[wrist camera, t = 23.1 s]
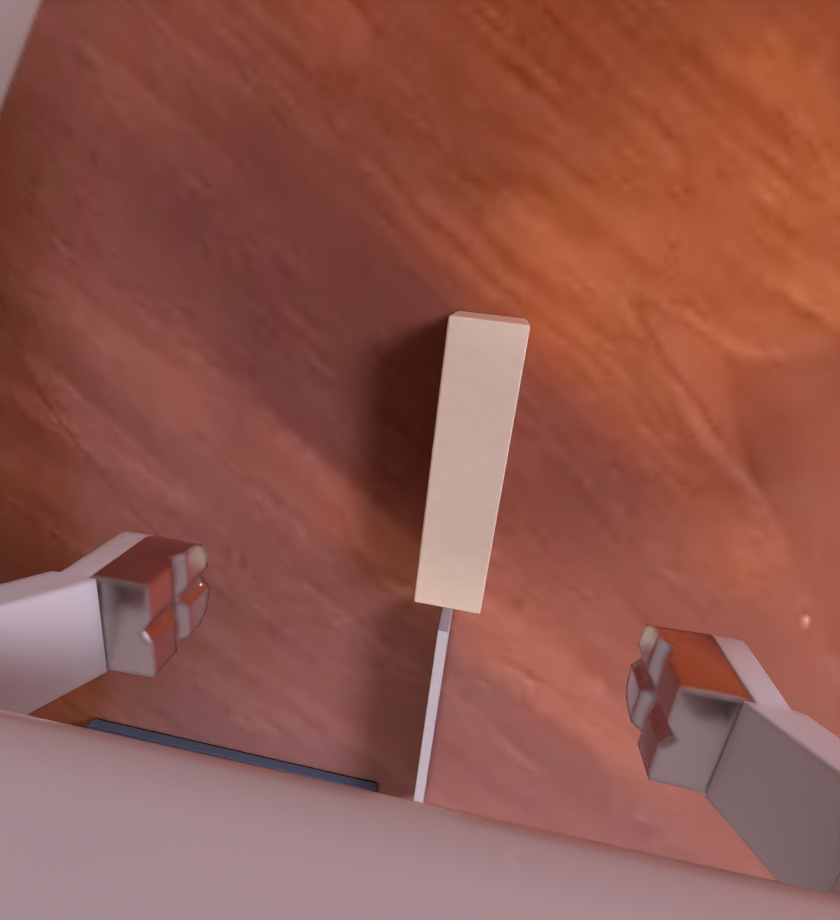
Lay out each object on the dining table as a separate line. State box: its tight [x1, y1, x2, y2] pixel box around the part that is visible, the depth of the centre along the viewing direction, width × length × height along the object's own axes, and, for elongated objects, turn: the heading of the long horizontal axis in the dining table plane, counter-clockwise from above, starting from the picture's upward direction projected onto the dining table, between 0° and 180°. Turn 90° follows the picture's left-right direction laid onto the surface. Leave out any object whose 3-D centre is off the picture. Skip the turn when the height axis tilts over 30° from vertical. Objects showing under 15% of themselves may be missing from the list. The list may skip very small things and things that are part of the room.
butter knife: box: [413, 311, 530, 803], centre depth 20 cm, size 23×2×3 cm, turn 174°
